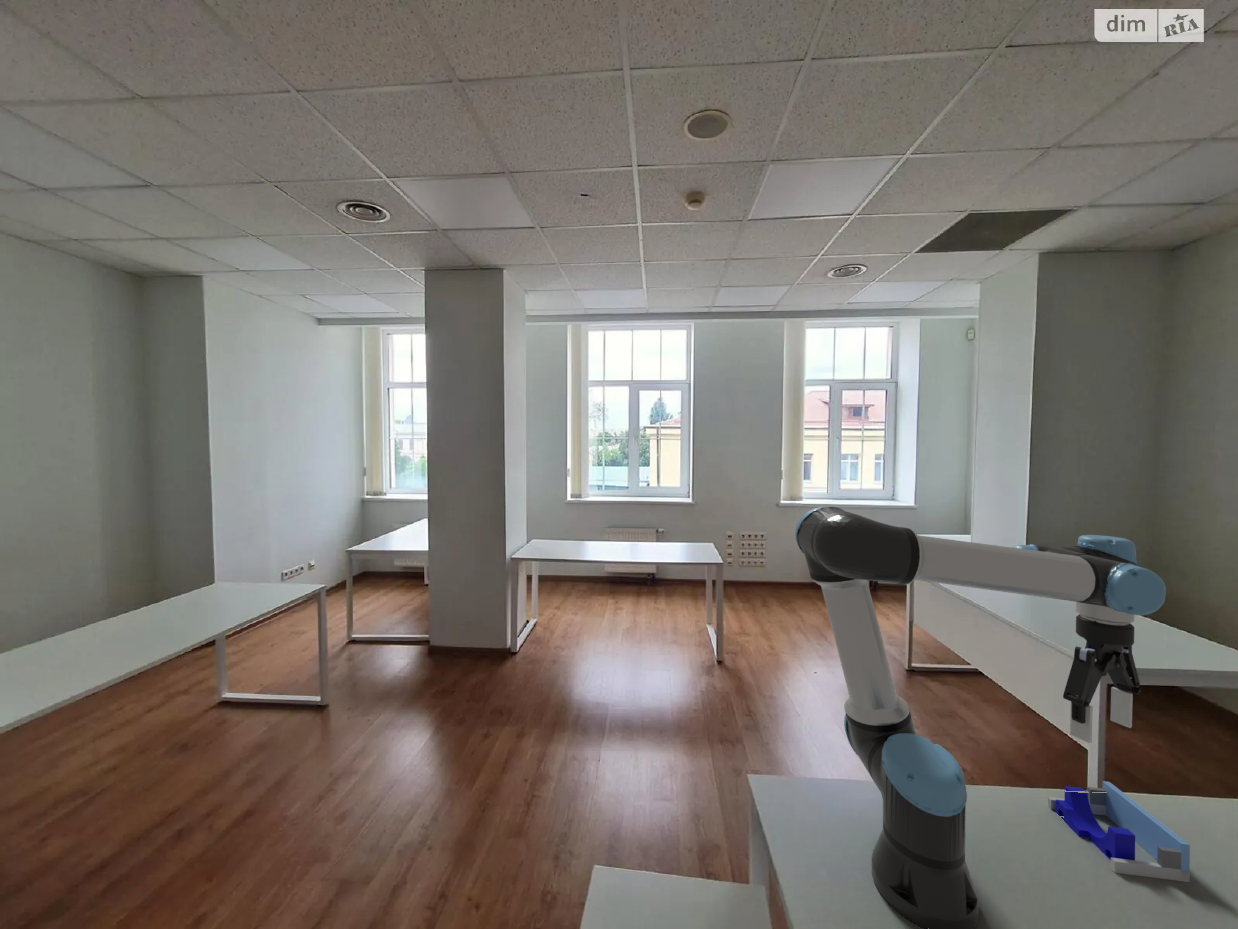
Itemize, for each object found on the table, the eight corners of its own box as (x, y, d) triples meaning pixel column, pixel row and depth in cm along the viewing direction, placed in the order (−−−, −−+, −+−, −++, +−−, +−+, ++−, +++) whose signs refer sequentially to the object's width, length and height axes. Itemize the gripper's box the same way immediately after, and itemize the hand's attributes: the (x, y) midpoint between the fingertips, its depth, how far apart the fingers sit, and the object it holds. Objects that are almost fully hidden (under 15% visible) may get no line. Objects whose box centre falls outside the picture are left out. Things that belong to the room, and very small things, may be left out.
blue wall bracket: (1114, 872, 81) (1114, 836, 81) (1048, 806, 96) (1048, 775, 96) (1189, 882, 79) (1189, 845, 79) (1109, 813, 94) (1109, 781, 94)
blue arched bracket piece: (1055, 814, 94) (1056, 785, 94) (1081, 817, 93) (1081, 788, 93) (1104, 864, 83) (1105, 831, 82) (1134, 868, 82) (1135, 835, 82)
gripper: (1093, 634, 78) (1090, 758, 78) (1167, 618, 87) (1164, 728, 87) (1039, 619, 85) (1037, 733, 85) (1113, 605, 94) (1110, 708, 94)
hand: (1101, 731), depth 86 cm, fingers open, 13 cm apart
